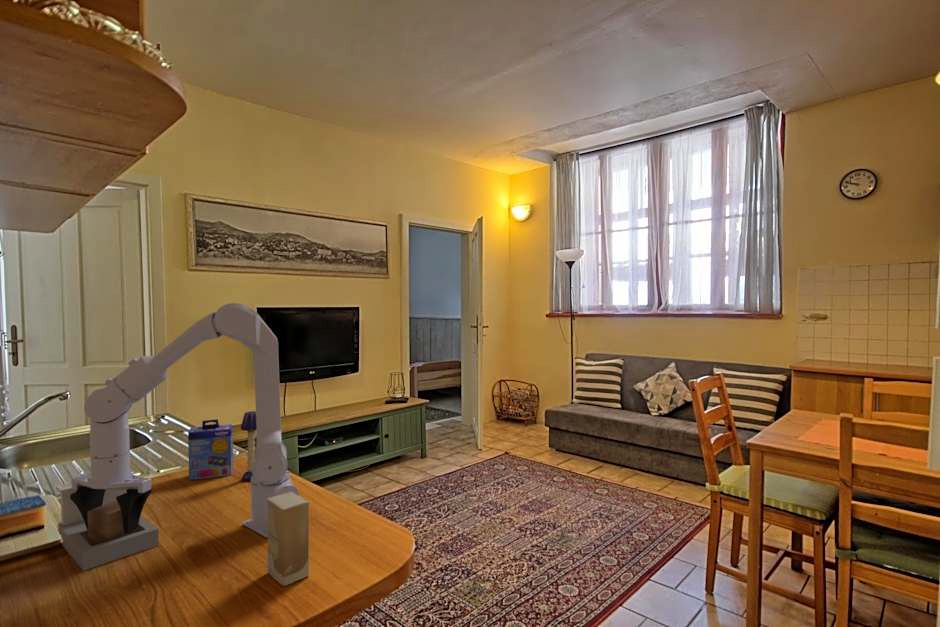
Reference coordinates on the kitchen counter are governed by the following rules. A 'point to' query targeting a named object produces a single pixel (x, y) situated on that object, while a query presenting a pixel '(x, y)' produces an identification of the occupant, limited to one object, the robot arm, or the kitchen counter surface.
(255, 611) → the kitchen counter surface
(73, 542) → the socket block
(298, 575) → the skincare box
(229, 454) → the ink cartridge box
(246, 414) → the toy lamp
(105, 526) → the walnut peg
